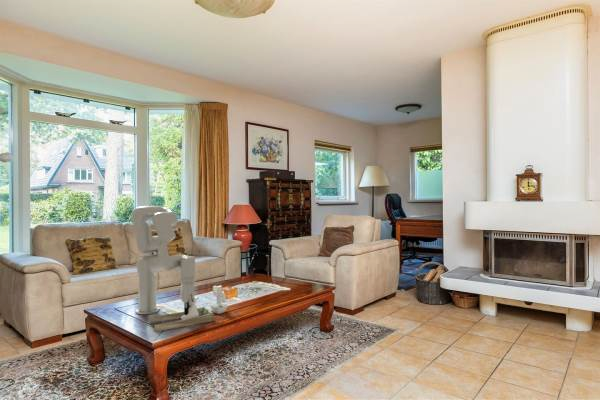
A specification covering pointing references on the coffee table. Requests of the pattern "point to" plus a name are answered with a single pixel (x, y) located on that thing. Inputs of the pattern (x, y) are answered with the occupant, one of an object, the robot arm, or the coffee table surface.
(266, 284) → the coffee table surface
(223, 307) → the figurine
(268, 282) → the coffee table surface
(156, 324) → the mats
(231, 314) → the coffee table surface
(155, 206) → the robot arm
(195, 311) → the sitting furry creature
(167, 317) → the lane
